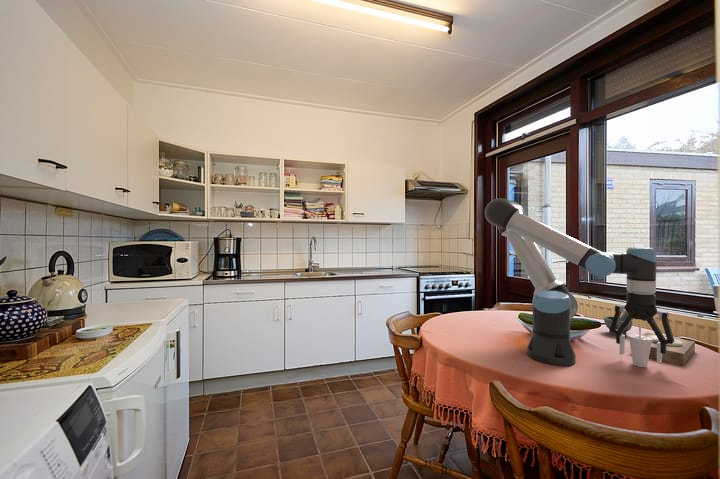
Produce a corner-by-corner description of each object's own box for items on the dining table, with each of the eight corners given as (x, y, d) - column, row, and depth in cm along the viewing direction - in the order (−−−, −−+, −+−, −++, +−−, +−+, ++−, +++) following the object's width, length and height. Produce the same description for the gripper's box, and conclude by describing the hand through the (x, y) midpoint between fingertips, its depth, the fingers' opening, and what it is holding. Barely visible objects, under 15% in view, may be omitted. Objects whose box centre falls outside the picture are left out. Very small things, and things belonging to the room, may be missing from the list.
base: (631, 353, 119) (631, 340, 119) (646, 341, 132) (646, 330, 132) (683, 365, 107) (684, 350, 107) (694, 351, 120) (694, 338, 120)
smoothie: (650, 364, 109) (650, 323, 108) (654, 370, 103) (655, 328, 103) (626, 360, 112) (626, 320, 112) (629, 366, 107) (630, 325, 106)
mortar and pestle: (613, 337, 138) (614, 309, 138) (599, 330, 147) (599, 305, 147) (641, 338, 137) (641, 310, 137) (624, 331, 146) (625, 306, 146)
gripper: (688, 296, 101) (687, 365, 101) (605, 287, 118) (604, 346, 119) (683, 298, 96) (682, 371, 97) (598, 289, 114) (597, 350, 114)
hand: (640, 357), depth 108 cm, fingers open, 9 cm apart
